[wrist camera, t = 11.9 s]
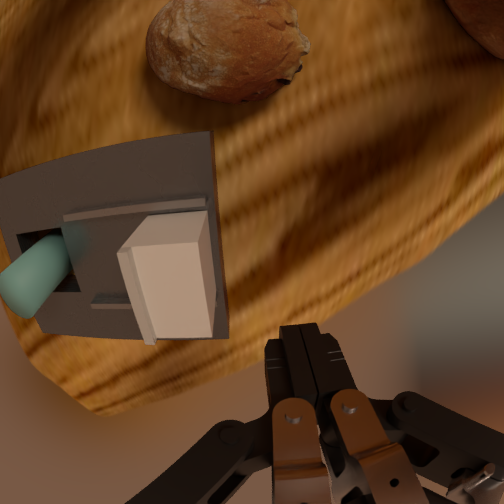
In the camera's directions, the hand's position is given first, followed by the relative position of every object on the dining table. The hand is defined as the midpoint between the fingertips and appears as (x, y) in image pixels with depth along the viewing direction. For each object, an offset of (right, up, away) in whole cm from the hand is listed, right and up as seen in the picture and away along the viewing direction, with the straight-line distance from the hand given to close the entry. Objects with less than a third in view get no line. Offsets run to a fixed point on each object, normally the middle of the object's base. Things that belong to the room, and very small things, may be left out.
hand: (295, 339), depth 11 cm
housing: (-14, +4, +10) cm, 18 cm away
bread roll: (-3, +18, +4) cm, 19 cm away
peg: (-19, +4, +10) cm, 22 cm away
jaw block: (-6, +3, +7) cm, 10 cm away
